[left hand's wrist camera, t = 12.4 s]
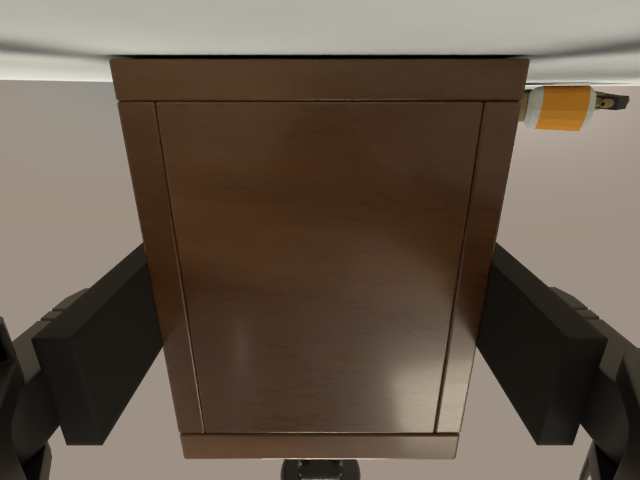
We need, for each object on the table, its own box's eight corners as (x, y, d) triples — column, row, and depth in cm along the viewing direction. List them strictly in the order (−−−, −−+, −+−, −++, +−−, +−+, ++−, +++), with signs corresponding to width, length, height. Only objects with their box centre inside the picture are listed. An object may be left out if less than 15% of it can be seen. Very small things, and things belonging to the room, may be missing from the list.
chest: (390, 79, 25) (380, 237, 29) (249, 79, 25) (259, 237, 29) (531, 58, 8) (461, 433, 12) (107, 58, 8) (178, 433, 12)
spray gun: (638, 79, 43) (502, 77, 52) (612, 89, 32) (445, 84, 41) (626, 118, 45) (496, 109, 54) (597, 140, 34) (441, 124, 43)
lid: (378, 233, 30) (373, 320, 33) (261, 233, 30) (266, 320, 33) (460, 434, 12) (433, 581, 15) (178, 434, 12) (206, 581, 15)
